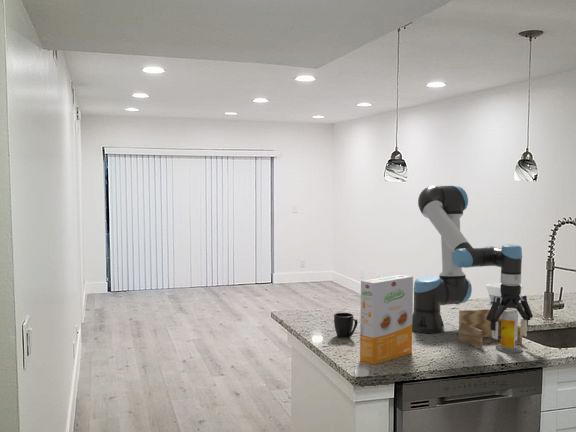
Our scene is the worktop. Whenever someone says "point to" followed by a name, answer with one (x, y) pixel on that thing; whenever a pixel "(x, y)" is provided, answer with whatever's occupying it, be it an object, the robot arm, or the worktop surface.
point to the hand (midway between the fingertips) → (509, 337)
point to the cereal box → (386, 318)
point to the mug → (344, 324)
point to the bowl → (495, 290)
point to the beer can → (509, 329)
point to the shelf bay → (478, 327)
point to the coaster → (508, 350)
